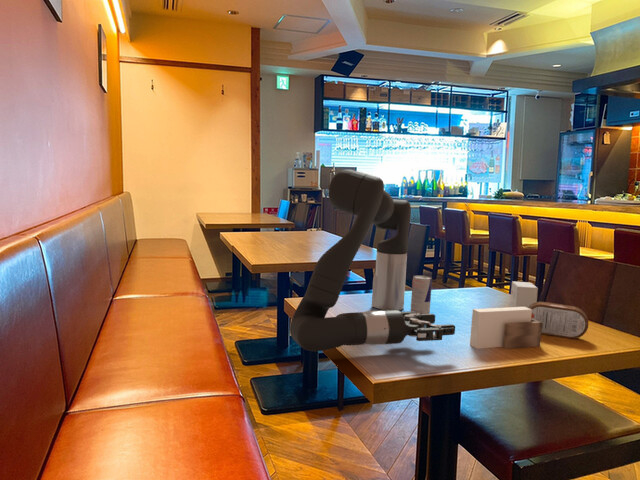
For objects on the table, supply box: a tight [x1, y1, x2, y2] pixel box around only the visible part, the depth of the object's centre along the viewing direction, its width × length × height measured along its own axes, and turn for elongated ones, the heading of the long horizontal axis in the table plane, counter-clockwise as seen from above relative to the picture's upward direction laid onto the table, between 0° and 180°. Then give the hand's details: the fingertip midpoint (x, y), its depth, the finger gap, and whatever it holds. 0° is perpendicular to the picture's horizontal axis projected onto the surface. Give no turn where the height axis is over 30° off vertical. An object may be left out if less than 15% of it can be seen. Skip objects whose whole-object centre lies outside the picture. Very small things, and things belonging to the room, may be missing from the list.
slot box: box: [502, 318, 543, 350], centre depth 116 cm, size 10×6×6 cm, turn 107°
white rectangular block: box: [469, 306, 532, 349], centre depth 114 cm, size 15×3×9 cm, turn 107°
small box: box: [509, 280, 539, 308], centre depth 138 cm, size 8×6×10 cm
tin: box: [528, 301, 589, 340], centre depth 124 cm, size 15×3×8 cm, turn 64°
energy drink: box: [410, 274, 433, 314], centre depth 134 cm, size 5×5×12 cm
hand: (443, 323), depth 109 cm, fingers open, 8 cm apart
